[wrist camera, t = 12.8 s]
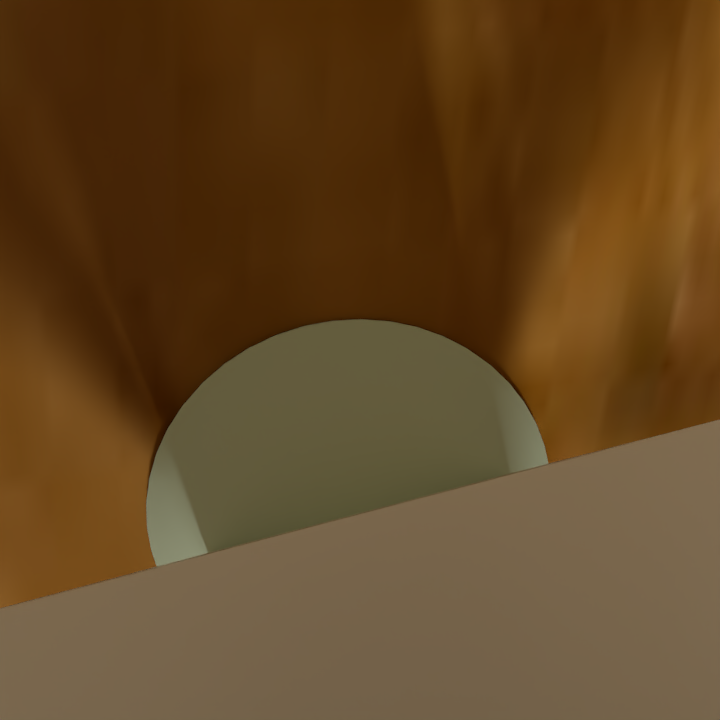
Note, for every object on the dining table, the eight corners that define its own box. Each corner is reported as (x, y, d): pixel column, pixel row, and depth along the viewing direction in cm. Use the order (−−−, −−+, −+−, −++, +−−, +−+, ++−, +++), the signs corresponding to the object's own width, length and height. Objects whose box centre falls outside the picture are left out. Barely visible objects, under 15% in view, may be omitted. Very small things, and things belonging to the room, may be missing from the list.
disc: (606, 380, 11) (612, 382, 10) (471, 694, 13) (473, 700, 13) (195, 264, 9) (192, 264, 9) (117, 643, 11) (114, 650, 11)
